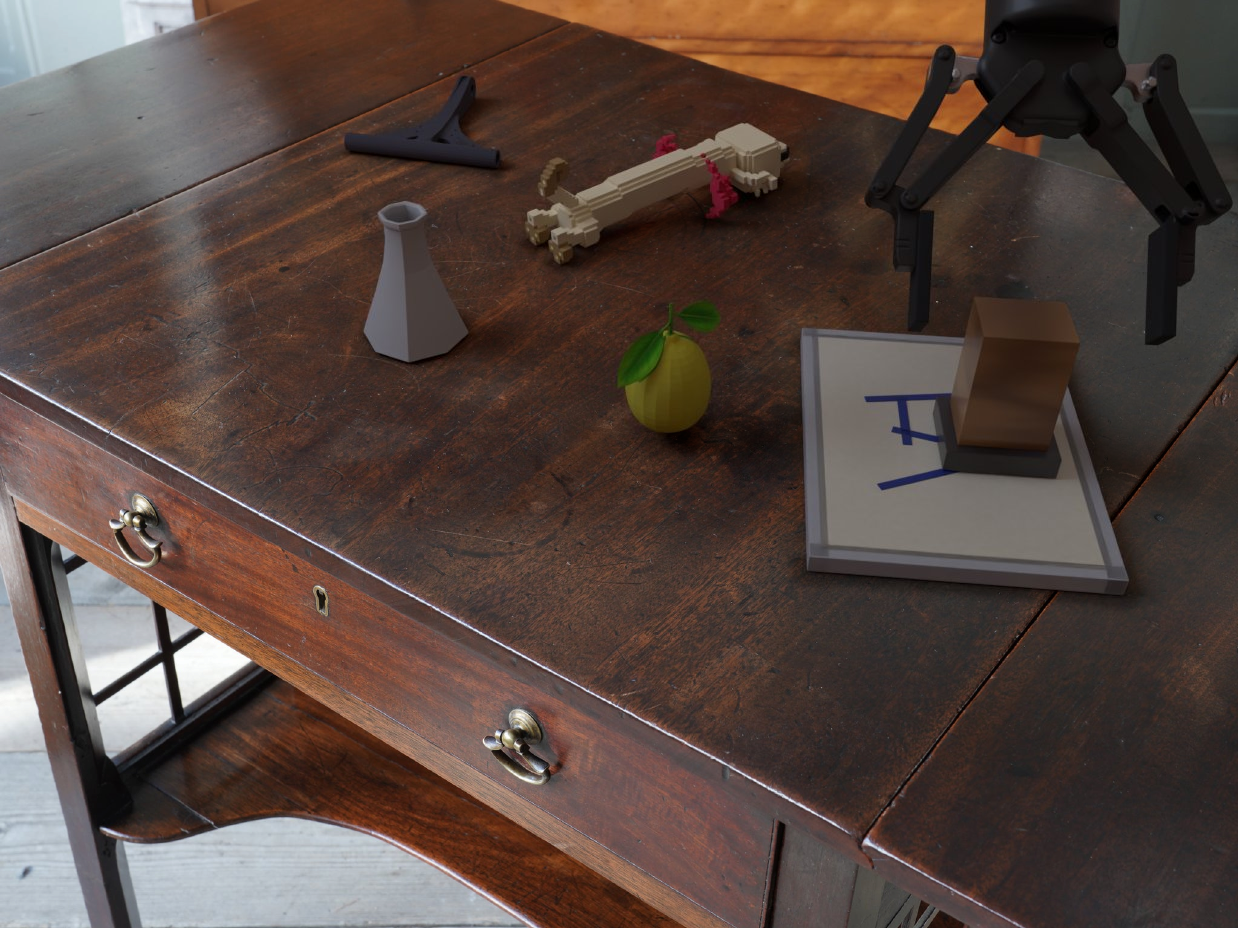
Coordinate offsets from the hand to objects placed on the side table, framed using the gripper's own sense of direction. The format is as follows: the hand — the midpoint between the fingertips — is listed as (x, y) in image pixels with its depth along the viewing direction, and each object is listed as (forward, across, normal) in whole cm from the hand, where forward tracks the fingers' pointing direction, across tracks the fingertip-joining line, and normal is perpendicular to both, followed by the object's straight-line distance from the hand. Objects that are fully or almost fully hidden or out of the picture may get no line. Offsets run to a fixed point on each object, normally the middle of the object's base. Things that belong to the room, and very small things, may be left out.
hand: (1038, 334), depth 70 cm
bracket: (-26, +45, -41) cm, 66 cm away
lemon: (+6, +21, -10) cm, 24 cm away
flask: (-1, +40, -17) cm, 44 cm away
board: (+6, +3, -10) cm, 12 cm away
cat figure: (-16, +23, -32) cm, 42 cm away
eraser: (+5, 0, -9) cm, 10 cm away
